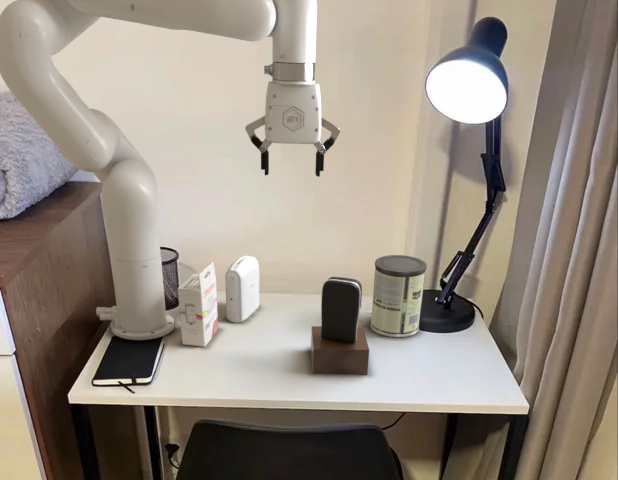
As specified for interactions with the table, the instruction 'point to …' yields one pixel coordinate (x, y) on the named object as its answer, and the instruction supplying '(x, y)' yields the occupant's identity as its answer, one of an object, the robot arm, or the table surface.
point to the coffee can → (397, 295)
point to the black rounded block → (340, 309)
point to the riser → (339, 354)
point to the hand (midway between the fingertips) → (292, 174)
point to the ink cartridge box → (198, 307)
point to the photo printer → (242, 288)
